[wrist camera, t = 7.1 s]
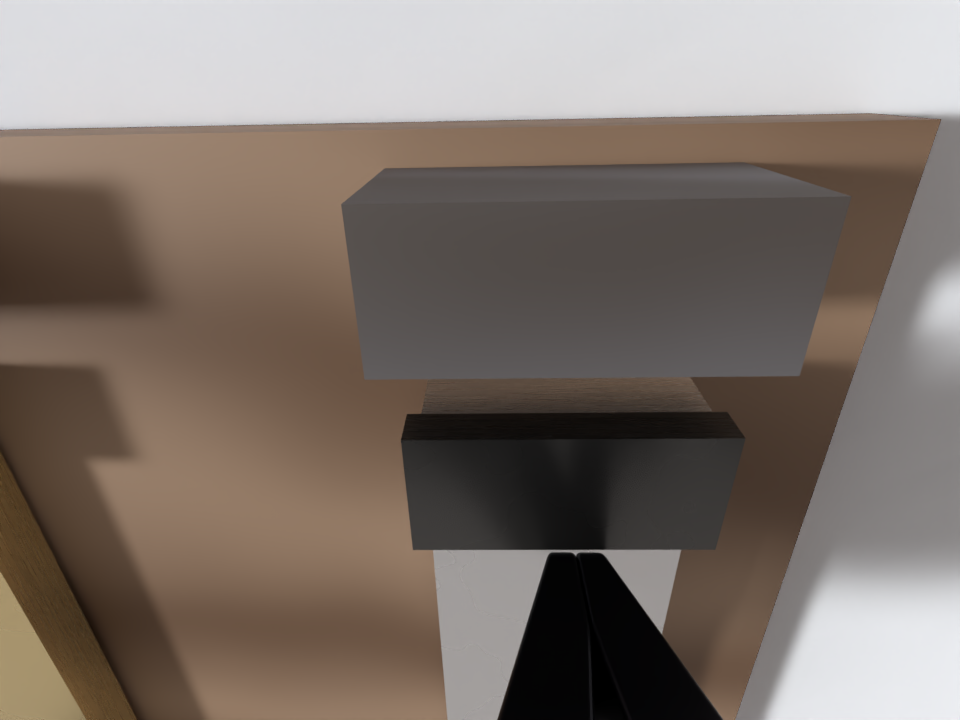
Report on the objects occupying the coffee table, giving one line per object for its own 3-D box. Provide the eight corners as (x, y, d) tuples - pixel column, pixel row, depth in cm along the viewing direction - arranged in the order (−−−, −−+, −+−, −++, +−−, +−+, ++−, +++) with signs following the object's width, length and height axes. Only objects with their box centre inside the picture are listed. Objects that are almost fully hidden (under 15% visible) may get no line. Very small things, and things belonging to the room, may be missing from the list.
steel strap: (608, 841, 16) (619, 916, 15) (453, 839, 16) (449, 914, 15) (709, 375, 8) (752, 437, 7) (409, 377, 8) (393, 440, 7)
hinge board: (670, 812, 19) (712, 984, 15) (45, 806, 19) (-56, 971, 16) (870, 113, 8) (1144, 136, 5) (-467, 138, 9) (-1091, 176, 5)
